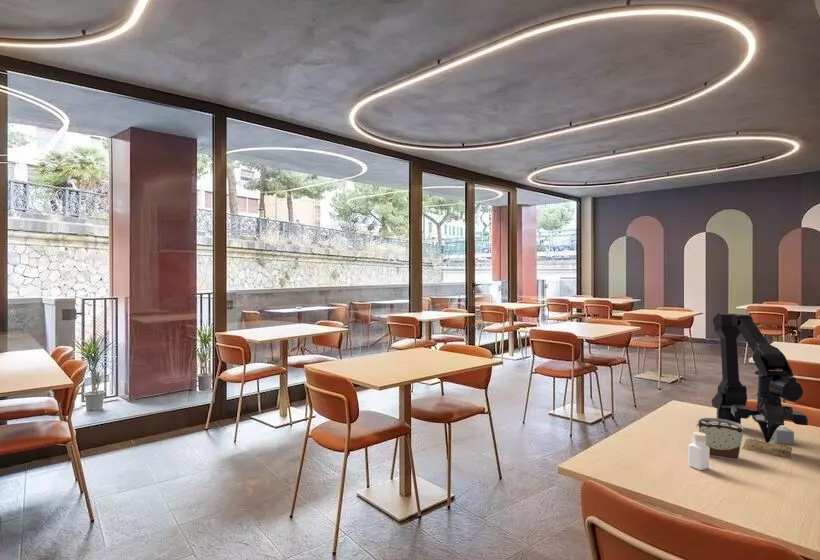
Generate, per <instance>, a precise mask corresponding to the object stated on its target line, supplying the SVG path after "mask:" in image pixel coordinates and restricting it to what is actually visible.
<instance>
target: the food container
mask: <svg viewBox="0 0 820 560" xmlns="http://www.w3.org/2000/svg"><path fill="white" fill-rule="evenodd" d="M695 428H698V432H701V433H704V434H706V445H707V446H708V447H709V448H710V451H709V457H712V458H713V457H715V458H721V459H727V460H734V461H739V460H740V459H739V457H740V452H741V445H742V440H743V434H746V430H745V427H744V426H743V425H742V423H741V424H738V423H736V422H733V421H729V420H724V419H718V418H717V417H703V418H699V419H698V421H697V423H696V426H695Z"/></svg>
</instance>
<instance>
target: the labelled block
mask: <svg viewBox="0 0 820 560" xmlns="http://www.w3.org/2000/svg"><path fill="white" fill-rule="evenodd" d="M794 439H795V432H794V431H793V430H791V429H789V428H787V427H786V426H779V427H778V428H777V429H776V430H775V432H774V434H773V436H772V438H771V440H770V441H772V440H773V441H772V442H773V443H775V444H786V443H791V444H790V445H794V443H795V442H794Z"/></svg>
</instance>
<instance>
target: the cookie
mask: <svg viewBox="0 0 820 560" xmlns="http://www.w3.org/2000/svg"><path fill="white" fill-rule="evenodd" d="M741 449H742V450H746V451H750V452H756V453H760V454H765V455H770V456H775V457H780V458H784V459H788V460H789V459H791V454H792V449H793V448H792V446H788V445H787V444H783V443H775V442H769V443H768V442H765V440H764V441H763V440H760V439H759V440H758V439H756V438H755V439H754V438H746V439H745V441H744V444H743V446H742V448H741Z"/></svg>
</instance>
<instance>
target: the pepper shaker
mask: <svg viewBox="0 0 820 560" xmlns="http://www.w3.org/2000/svg"><path fill="white" fill-rule="evenodd" d="M709 451H710V448H709V447H708V446H707V445H706V434H704V433H701V432H699V431H694V432H692V442H691V443H689V444H688V452H687V453H688V455H687V459H688V461H687V462H688V463H687V464H688V465H687V466H688V467H692V468H694V469H696V470H699V471H703V470H707V469H708V468H710V467H709V466H710V456H709Z"/></svg>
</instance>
